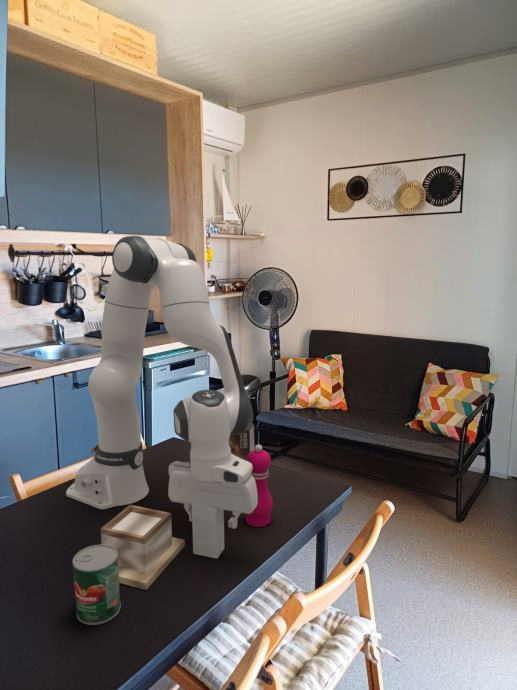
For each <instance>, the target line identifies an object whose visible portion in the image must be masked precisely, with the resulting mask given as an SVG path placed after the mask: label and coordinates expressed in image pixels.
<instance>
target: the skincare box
mask: <svg viewBox="0 0 517 690" xmlns="http://www.w3.org/2000/svg"><path fill="white" fill-rule="evenodd" d="M224 511H225V510H222V509H218V507H217V506H211V505H206V504H201V503H195V502H194V503H193V504H192V521H191V524H192V526H191V527H192V554H194V555H198V556H202V557H207V558H212V559H219V557H220V555H221V553H222V552H223V551H224V550H225V518H224V517H225V516H224V515H225V513H224Z"/></svg>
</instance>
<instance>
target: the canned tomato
mask: <svg viewBox="0 0 517 690" xmlns="http://www.w3.org/2000/svg"><path fill="white" fill-rule="evenodd" d="M72 569H73V580H74V581H73V583H74V593H75V594H74V596H75V607H76V609H75V610H76V618H77V620H78V621H79V622H80V623H82V624H84V625H87V626H88V625H89V626H97V625H102V624H105V623H107V622H109V621H110V620H113V619H114V618H115V617H116V616H117V615H118V614H119V613H120V611H121V607H122V604H121V594H120V593H121V591H120V588H121V587H120V583H119V572H118V570H119V569H118V552H117V550H116V549H115V548H114V547H112V546H109V545H102V544H94V545H90V546H86V547H85V548H83V549H80V550H79V551H78V552H76V554H75V555H74V556H73V558H72Z"/></svg>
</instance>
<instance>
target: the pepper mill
mask: <svg viewBox="0 0 517 690" xmlns="http://www.w3.org/2000/svg"><path fill="white" fill-rule="evenodd" d="M271 459H272V458H271V456H270V453H268V452H267V451H265V450H264V449H263V446H262V445H261V444H256V445H254V450H253V451H251V452H250V453H249V454H248V456H247V459H246V461H248V462H250V463H251V464H252V466H253V470H252V472H251V475H252V476H253V477H254V479H255V482H256V487H257V496H258V503H257V506H256V508H255V509H254V510H253V512H252V513H250V514H247V513H245V522H246V524H248V525H249V526H251V527H255V528H262V527H266V526H268V525H269V524H270V523H271V521H272V513H271V511H272V510H273V506H274V502H273V497H272V495H271V493H270V490H269V488H268V484H267V483H268V482H267V481H268V480H267V479H268V477H269V476H270V474H269V472H270V471H269V467H271V462H272V460H271ZM267 524H268V525H267Z"/></svg>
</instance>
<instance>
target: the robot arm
mask: <svg viewBox="0 0 517 690" xmlns="http://www.w3.org/2000/svg"><path fill="white" fill-rule="evenodd" d="M111 256H112V257H111V261H112V266H113V269H112V272H111V275H110V278H109V281H108V284H107V289H106V293H105V299H104V306H103V313H102V322H101V328H100V333H101V357H100V361H99V362H98V364H97V365H96V366H94V368H93V369H92V371H91V372H90V374H89V378H88V383H87V385H88V387H87V389H88V393H89V395H90V397H91V400H92V404H93V408H94V411H95V417H96V423H97V440H98V441H97V442H98V443H97V445H95V447H92V448H91V449H90V451H91V452H90V454H93V453H95V454H94V455H93V458H92V459H90V460H89V461H87V462H86V463H85V464H83V465H82V466H81V467H80V468H79V469H78V470H77V472H76V474H75V477H74V482H73V483H72V484H71V485H70V486H69V487H68V488H67V489H66V492H65V496H66V497H68V498H70V499H73V500H76V501H78V502H81V503H83V504H86V505H89V506H91V507H94V508H97V509H99V510H106V509H110V508H113V507H119V506H126V505H132V504H133V503H137V502H139V501H140V500H142V499H144V498H146V496H148V494H149V492H150V488H149V485H148V483H147V479H146V475H145V471H144V466H143V463H144V448H143V446H144V445H143V442H142V439H141V437H142V436H141V416H140V413H139V409H138V408H139V407H138V405H137V397H136V386H137V383H138V382H139V381H140V378H141V376H142V368H143V361H144V360H143V359H144V357H143V356H144V346H145V336H146V335H145V334H146V328H147V321H148V316H149V315H148V314H149V309H150V303H151V302H150V301H151V294H152V291H153V290H154V288H155V287H158V290H159V292H160V301H161V310H162V311H161V312H162V319H163V324H164V328H165V330H166V332H167V333H168V334H169V336H170V337H171V338H172V339H174V340H175V341H177V342H178V343H181V344H182V345H186V346H188V347H192V348H196V349H199V350H203V351H204V352H207V353H209V354H210V355H211V356H212V357H213V358H214V360H215V361H216V365H217V367H218V371H219V374H220V378H221V382H222V385H223V389H224V391H223V392H221V391H218V390H215V389H201V390H198V391H195V392H194V393H192V394H191V396H190V397H187V398H184V399H181V400H179V402H177V404H176V406H174V408H173V429H174V433H175V435H176V436H178V437H179V438H181V439H182V440H184V441H185V442H186V443H187V442H190V452H189V460H190V462H189V461H180V460H175V461H172V462H171V463H170V464H169V466H168V476H169V480H168V493H167V494H168V496H167V497H168V498H169V499H170V501H171V502H172V503H180V504H183V508H184V509H185V511H186V512H187V514H188V519H189V520H188V521H189V522H192V504H193V503H194V502H195V503H201V504H206V505H211V506H217V507H218V509H222V510H224V511H228V512H232V515H233V516H234V517H233V516H232V517H230V519H229V520H228V523H227V524H228V528H229V529H235V530H236V529H237V527H238V518H239V517H240V515H241V514H246V513H247V514H250V513H252V512H253V510H254V509H255V508H256V506H257V503H258V496H257V487H256V482H255V479H254V477H253V476H252V475H251V472H252V470H253V466H252V464H251V463H250V462H248V461H245V460H243V459H241V458H239V457H237V456H235V455H233V454H231V449H230V446H229V437H230V435H238V434H243V433H244V432H245V431H246V430H247V429H248V428H249V426H250V425H251V423H253V421H254V411H253V406H252V403H251V401H250V397H249V396H248V393H247V391H246V387H245V385H244V384H245V383H244V381H243V379H242V374H241V370H240V367H239V365H238V364H239V363H238V360H237V357H236V353H235V350H234V348H233V344H232V341H231V339H230V336H229V332H227V329H226V328H225V327H224V326H222V325H220V324H219V323H218V322H217V320H216V319H215V318H214V315H213V313H212V311H211V304H210V298H209V292H208V288H207V283H206V280H205V276H204V273H203V270H202V267H201V266H200V264H199V263H198V262H197V258H196V254H195V253H194V251H193V250H192V249H191V248H190V247H188V246H186V245H185V244H183V243H179V242H173V241H170V240H168V239H162V238H159V237H158V238H154V237H143V236H140V235H128V236H124V237H121V238H120V239H119V240H118V241H117V242H116V243H115V245H114V248H113V250H112V254H111Z"/></svg>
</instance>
